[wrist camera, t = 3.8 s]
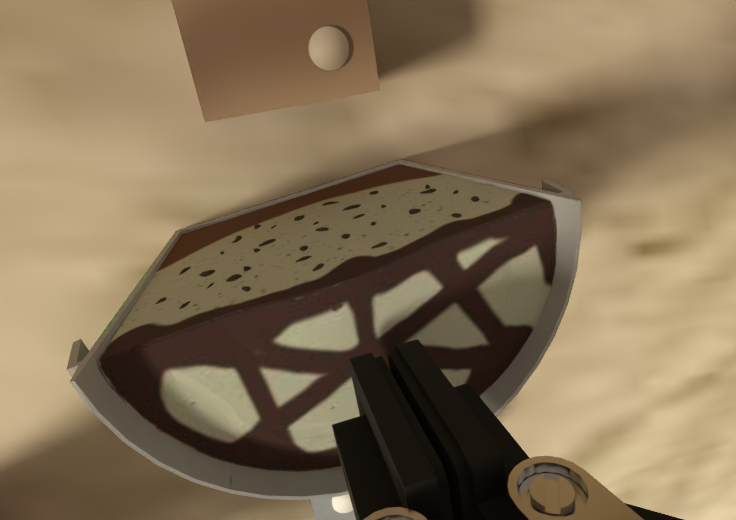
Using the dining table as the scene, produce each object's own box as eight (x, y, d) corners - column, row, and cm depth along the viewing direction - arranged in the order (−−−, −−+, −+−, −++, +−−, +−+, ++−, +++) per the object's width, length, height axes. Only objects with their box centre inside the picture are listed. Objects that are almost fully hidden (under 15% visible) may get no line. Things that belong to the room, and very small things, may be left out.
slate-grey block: (290, 404, 22) (305, 487, 18) (392, 373, 23) (433, 444, 19) (312, 485, 24) (332, 580, 19) (406, 453, 25) (447, 536, 20)
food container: (199, 374, 21) (172, 596, 11) (136, 243, 18) (40, 392, 9) (460, 277, 22) (617, 403, 13) (433, 148, 20) (601, 192, 11)
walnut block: (170, -42, 16) (143, -100, 11) (318, -60, 17) (351, -119, 12) (212, 114, 18) (204, 122, 13) (343, 91, 19) (381, 90, 14)
